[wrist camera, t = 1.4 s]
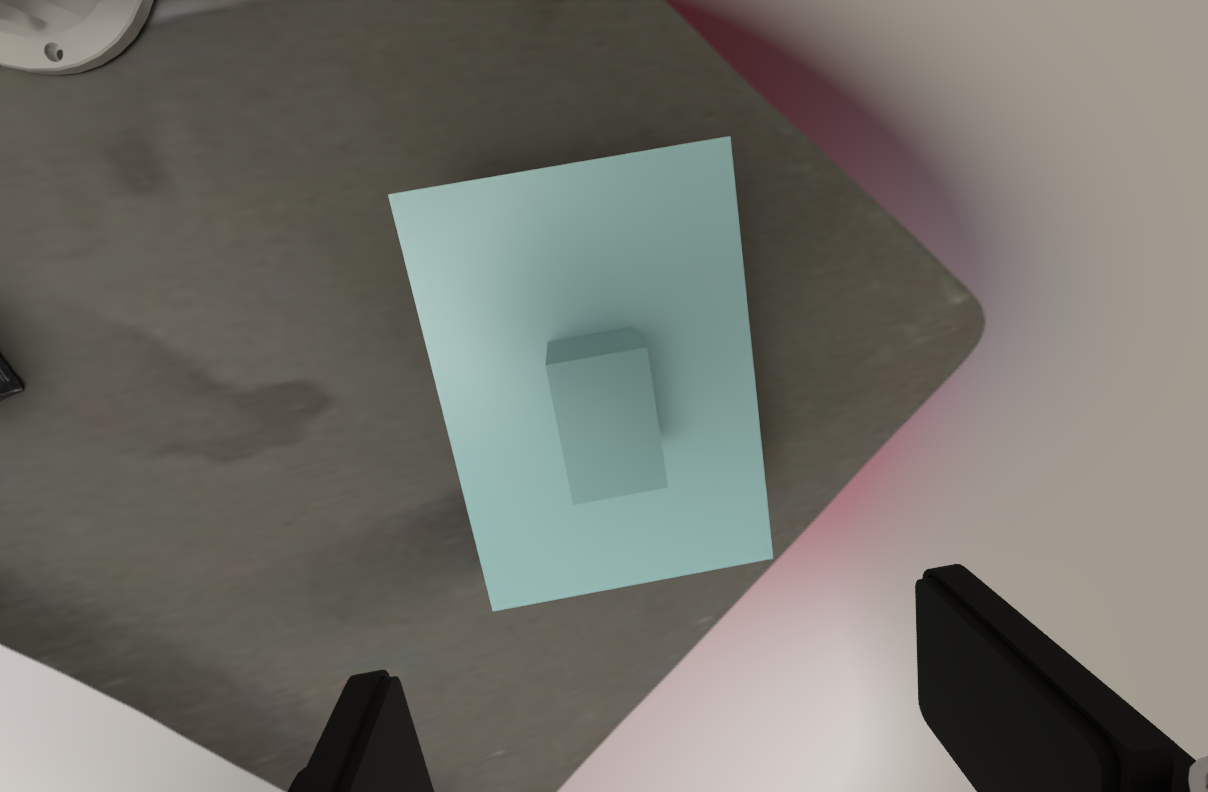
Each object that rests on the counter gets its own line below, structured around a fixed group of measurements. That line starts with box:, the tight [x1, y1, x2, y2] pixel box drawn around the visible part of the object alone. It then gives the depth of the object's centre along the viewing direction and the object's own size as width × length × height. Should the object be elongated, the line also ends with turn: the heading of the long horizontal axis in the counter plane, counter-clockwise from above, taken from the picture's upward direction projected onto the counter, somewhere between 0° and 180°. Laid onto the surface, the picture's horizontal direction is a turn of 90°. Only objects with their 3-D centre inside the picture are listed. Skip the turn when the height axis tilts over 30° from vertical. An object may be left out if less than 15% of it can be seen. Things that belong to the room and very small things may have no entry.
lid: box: [388, 136, 773, 611], centre depth 27 cm, size 21×15×6 cm
